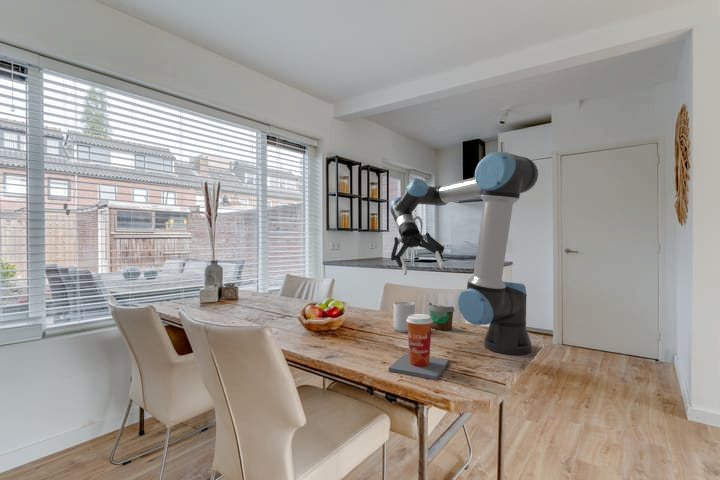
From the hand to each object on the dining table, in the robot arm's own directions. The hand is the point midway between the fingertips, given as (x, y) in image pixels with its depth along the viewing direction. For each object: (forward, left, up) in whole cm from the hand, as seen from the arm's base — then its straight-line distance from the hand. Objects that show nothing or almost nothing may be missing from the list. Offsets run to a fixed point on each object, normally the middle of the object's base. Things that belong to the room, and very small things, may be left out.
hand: (424, 269), depth 126 cm
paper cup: (-5, +21, -26) cm, 34 cm away
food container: (+1, -24, -27) cm, 36 cm away
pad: (-5, +21, -27) cm, 35 cm away
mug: (+13, -18, -27) cm, 35 cm away
